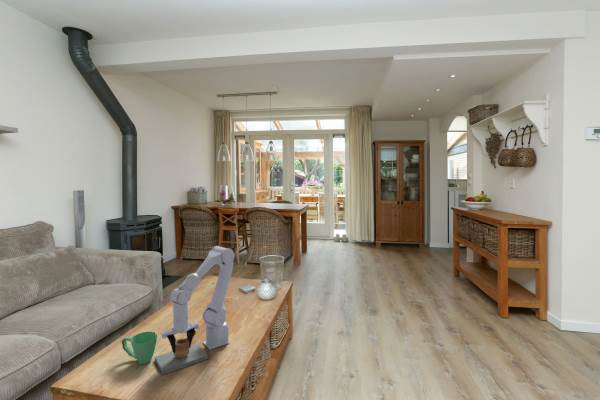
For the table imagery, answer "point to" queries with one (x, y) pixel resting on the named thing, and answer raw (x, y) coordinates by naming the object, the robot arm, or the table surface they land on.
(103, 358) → the table surface
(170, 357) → the post board
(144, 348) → the mug
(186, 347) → the tube
